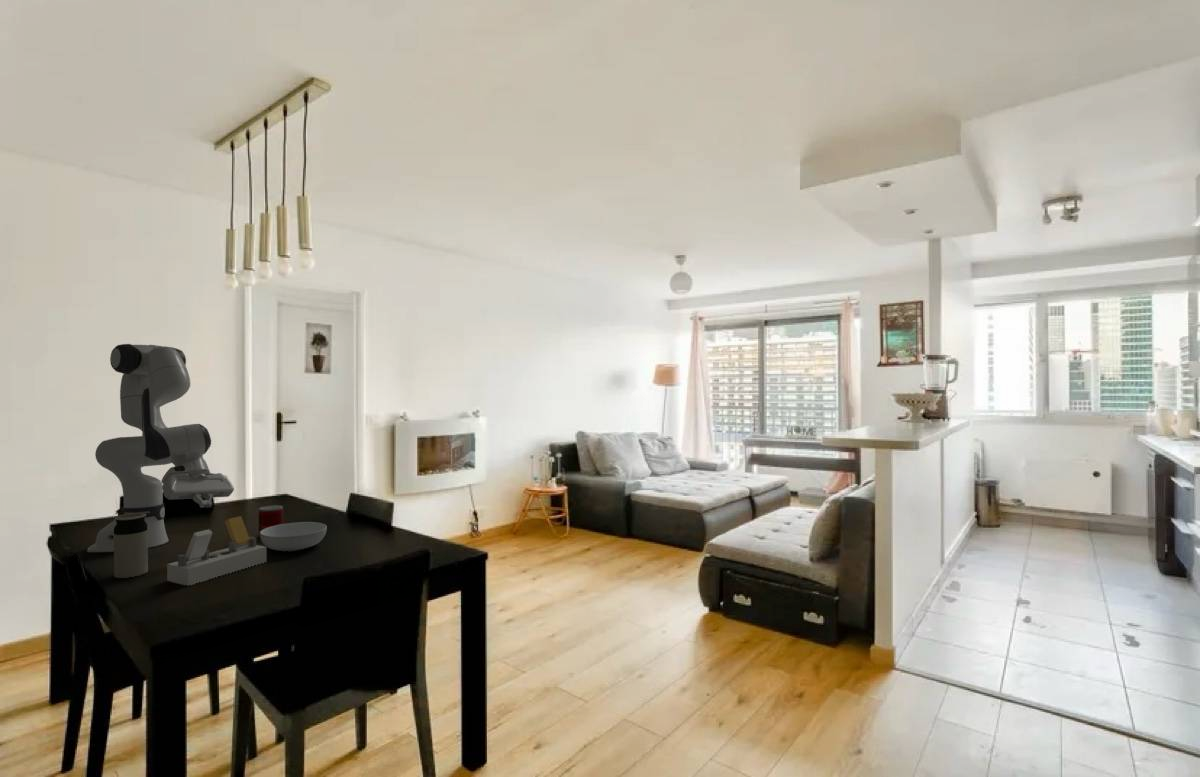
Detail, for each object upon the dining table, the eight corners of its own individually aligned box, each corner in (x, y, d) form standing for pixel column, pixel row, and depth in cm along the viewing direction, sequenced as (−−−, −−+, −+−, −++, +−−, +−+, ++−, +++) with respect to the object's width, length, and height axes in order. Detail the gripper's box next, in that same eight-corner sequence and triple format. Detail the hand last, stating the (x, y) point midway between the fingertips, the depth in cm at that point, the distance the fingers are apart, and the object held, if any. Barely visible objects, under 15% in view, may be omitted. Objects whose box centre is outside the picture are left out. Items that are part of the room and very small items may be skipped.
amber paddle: (234, 549, 185) (223, 521, 187) (249, 545, 190) (239, 518, 192) (237, 547, 185) (227, 519, 186) (252, 543, 189) (242, 515, 191)
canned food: (287, 535, 222) (287, 506, 222) (265, 540, 215) (265, 510, 215) (276, 532, 226) (275, 504, 226) (254, 537, 219) (254, 508, 219)
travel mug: (152, 573, 179) (152, 514, 178) (121, 580, 172) (120, 519, 172) (140, 568, 183) (140, 511, 182) (109, 576, 176) (108, 516, 176)
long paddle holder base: (167, 581, 172) (167, 554, 171) (246, 558, 193) (245, 534, 193) (188, 586, 167) (188, 558, 167) (266, 562, 189) (266, 538, 189)
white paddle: (182, 560, 172) (192, 533, 170) (200, 555, 176) (210, 529, 174) (186, 563, 171) (196, 536, 169) (203, 558, 176) (213, 532, 174)
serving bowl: (299, 558, 193) (299, 538, 193) (245, 554, 198) (245, 534, 197) (339, 541, 214) (339, 523, 214) (289, 538, 218) (289, 520, 218)
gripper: (221, 479, 206) (234, 510, 201) (155, 480, 188) (167, 514, 183) (230, 467, 205) (243, 498, 199) (164, 467, 187) (177, 501, 181)
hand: (206, 506), depth 191 cm, fingers closed
